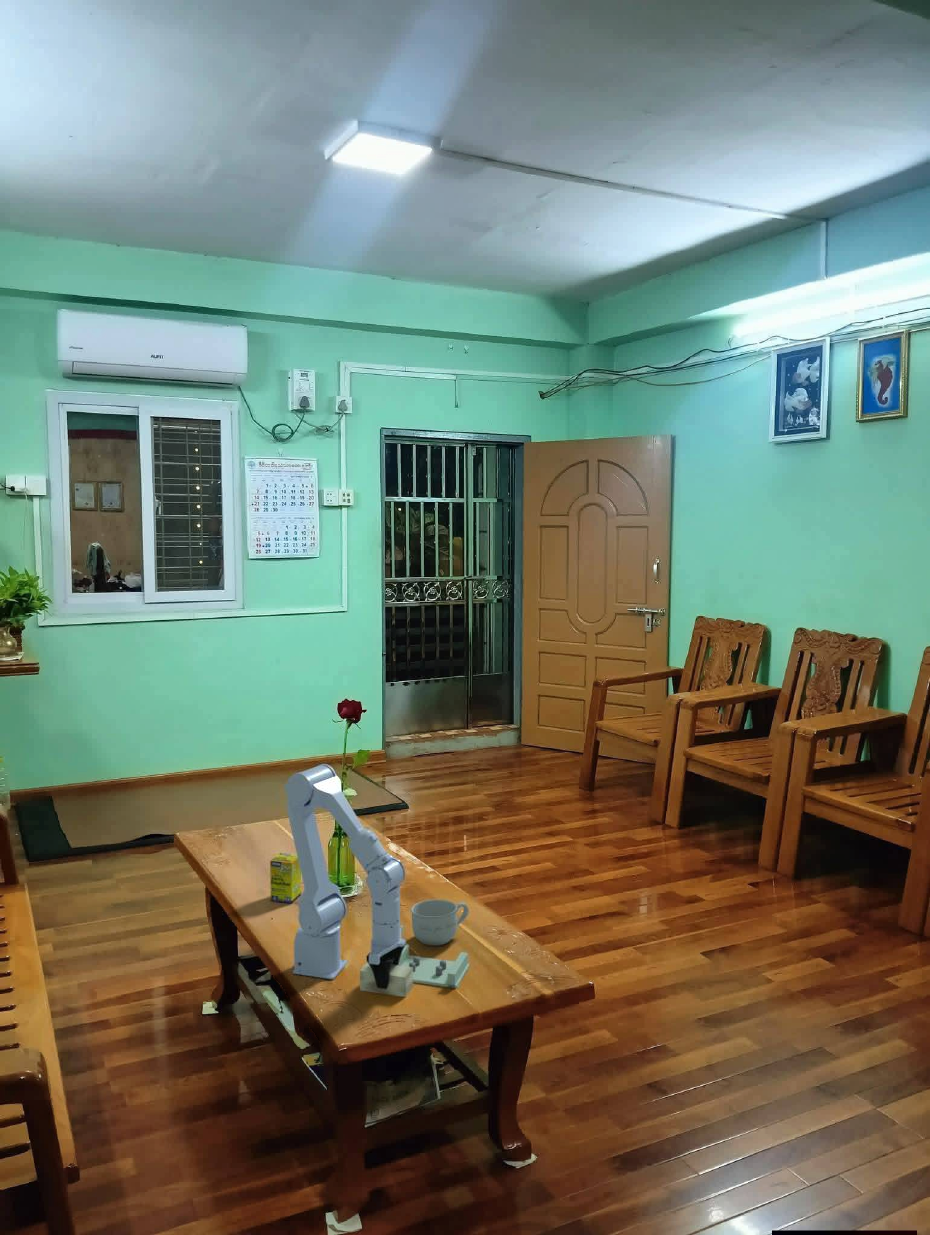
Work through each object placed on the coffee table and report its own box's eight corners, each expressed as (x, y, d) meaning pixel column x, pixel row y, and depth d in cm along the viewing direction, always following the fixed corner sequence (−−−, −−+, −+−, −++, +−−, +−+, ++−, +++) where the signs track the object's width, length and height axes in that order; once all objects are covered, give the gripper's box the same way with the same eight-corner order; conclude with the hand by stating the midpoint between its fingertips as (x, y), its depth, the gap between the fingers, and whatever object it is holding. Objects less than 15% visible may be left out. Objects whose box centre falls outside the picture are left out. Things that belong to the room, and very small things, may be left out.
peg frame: (384, 977, 198) (384, 964, 198) (400, 956, 208) (400, 943, 208) (456, 988, 194) (456, 974, 194) (469, 966, 204) (469, 953, 203)
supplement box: (270, 902, 238) (269, 860, 236) (280, 892, 243) (279, 852, 242) (292, 904, 236) (291, 862, 235) (301, 895, 242) (300, 854, 241)
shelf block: (360, 990, 193) (360, 970, 193) (368, 980, 198) (367, 961, 197) (405, 997, 191) (405, 977, 190) (412, 986, 195) (412, 967, 194)
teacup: (416, 953, 210) (416, 918, 209) (406, 932, 220) (406, 899, 219) (476, 945, 214) (476, 912, 213) (463, 925, 224) (463, 893, 223)
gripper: (392, 936, 184) (392, 1001, 186) (416, 907, 198) (416, 968, 200) (358, 932, 186) (359, 996, 188) (384, 903, 200) (385, 963, 202)
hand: (386, 981), depth 194 cm, fingers closed on shelf block, 4 cm apart
